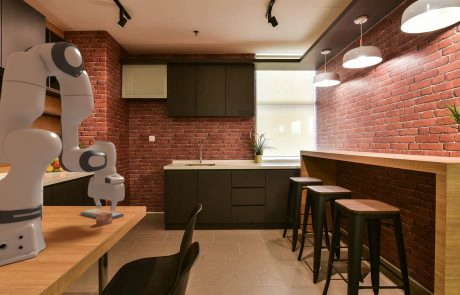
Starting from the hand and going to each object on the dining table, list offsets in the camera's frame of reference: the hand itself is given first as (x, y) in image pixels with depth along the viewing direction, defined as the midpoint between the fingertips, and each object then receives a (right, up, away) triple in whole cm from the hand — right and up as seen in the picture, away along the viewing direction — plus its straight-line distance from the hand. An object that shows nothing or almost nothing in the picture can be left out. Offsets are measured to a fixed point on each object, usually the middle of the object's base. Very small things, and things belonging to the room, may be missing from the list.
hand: (105, 208), depth 114 cm
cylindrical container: (-37, -6, +7) cm, 38 cm away
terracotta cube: (0, -6, -1) cm, 6 cm away
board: (-8, -6, +12) cm, 16 cm away
